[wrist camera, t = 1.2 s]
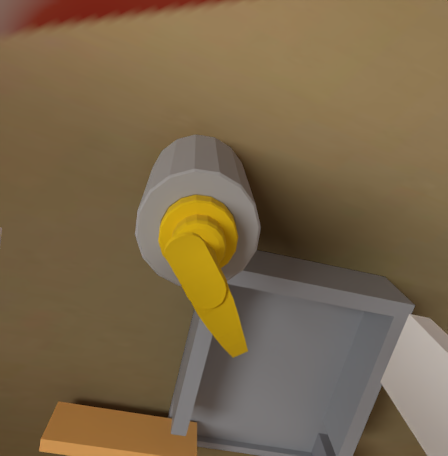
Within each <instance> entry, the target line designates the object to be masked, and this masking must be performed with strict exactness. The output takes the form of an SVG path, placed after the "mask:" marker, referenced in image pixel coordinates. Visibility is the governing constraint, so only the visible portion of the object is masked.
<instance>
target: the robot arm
mask: <svg viewBox="0 0 448 456" xmlns="http://www.w3.org/2000/svg"><path fill="white" fill-rule="evenodd" d="M1 232H2V228H0V242H1ZM380 382H381V384H382V386H383V387H384V389H385V390H386V392H387V393H388V395H389V396H390V398H391V400H392V401H393V403H394V404H395V406H396V407H397V409H398V411H399V412H400V414H401V415H402V417H403V418H404V420H405V422H406V423H407V425H408V426H409V428H410V429H411V431H412V432H413V434H414V436H415V437H416V439H417V440H418V442H419V443H420V445H421V447H422V448H423V450H424V451H425V453H426V454H427V456H448V335H447V334H446V333H445V332H444V331H443V330H442V329H441V328H440V327H439V326H438V325H437V324H436V323H435V322H433V321H432V320H431V319H430V318H426V317H422V316H417V315H412V314H409V316H408V318H407V320H406V323H405V325H404V327H403V330H402V332H401V334H400V337H399V339H398V341H397V344H396V346H395V349H394V351H393V353H392V356H391V358H390V360H389V363H388V365H387V367H386V370H385V372H384V374H383V377H382V379H381V381H380Z"/></svg>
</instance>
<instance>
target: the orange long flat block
mask: <svg viewBox="0 0 448 456" xmlns="http://www.w3.org/2000/svg"><path fill="white" fill-rule="evenodd" d="M171 424H172V419H171V418H164V417H158V416H151V415H145V414H138V413H131V412H125V411H118V410H112V409H105V408H98V407H92V406H85V405H79V404H72V403H65V402H59V401H58V403H57V405H56V408H55V410H54V412H53V414H52V416H51V418H50V420H49V423H48V425H47V427H46V429H45V431H44V433H43V435H42V438H41V441H40V448H39V451H40V452H48V453H55V454H62V455H70V456H197V422H191V421H190V423H189V426H188V430H187V434H186V436H181V435H174V434H171Z"/></svg>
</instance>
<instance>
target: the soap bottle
mask: <svg viewBox="0 0 448 456" xmlns="http://www.w3.org/2000/svg"><path fill="white" fill-rule="evenodd" d="M260 230H261V226H260V221H259V217H258V213H257V208H256V204H255V201H254V198H253V195H252V192H251V189H250V186H249V183H248V180H247V177H246V174H245V171H244V168H243V165H242V162H241V161H240V160H239V158H238V157H237V155H236V154H235V153H234V151H233V150H232V148H231V147H229V146H228V145H226V144H224V143H223V142H221V141H220V140H218V139H216V138H215V137H208V136H202V135H192V136H188V137H184V138H180V139H177V140H176V141H174V142H173V143H172V144H170V145H169V146H168V147H166V148H165V149H164V150H162V152H161V154H160V155H159V157H158V159H157V161H156V163H155V164H154V166H153V168H152V171H151V174H150V177H149V180H148V183H147V186H146V188H145V191H144V194H143V197H142V200H141V203H140V206H139V208H138V211H137V221H136V232H135V236H136V239H137V242H138V245H139V248H140V251H141V254H142V257H143V259H144V260H145V261H146V262H147V263H148V264H149V265H150V267H151V268H152V269H153V270H154V271H155V272H156V273H157V275H159V276H161V277H163V278H165V279H166V280H168V281H170V282H172V283H174V284H176V285H178V286H182V288H183V289H184V291H185V293H186V295H187V297H188V299H189V300H190V301H191V303H192V305H193V307H194V309H195V311H196V312H197V314H198V316H199V317H200V319H201V320H202V321H203V323H204V324H205V326H206V327H207V329H208V330H209V331H210V332H211V334H212V335H213V336H214V337H215V339H216V340H217V341H218V342H219V343H220V345H221V346H222V347H223V348H224V349H225V350H226V351H227V352H228V353H229V354H230V355H231V356H232V357H233V358H234V357H236V356H238V355H241V354H243V353H245V352H248V349H247V345H246V341H245V337H244V334H243V330H242V327H241V323H240V319H239V315H238V312H237V309H236V306H235V302H234V299H233V296H232V294H231V291H230V289H229V286H228V283H227V281H228V280H230V279H231V278H233V277H234V276H236V275H237V274H238V273H240V272H241V271H243V270H244V269H245V267H246V266H247V264H248V263H249V261H250V260H251V258H252V257H253V255H254V254H255V252H256V251H257V246H258V241H259V235H260Z"/></svg>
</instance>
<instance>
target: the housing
mask: <svg viewBox="0 0 448 456" xmlns="http://www.w3.org/2000/svg"><path fill="white" fill-rule="evenodd" d="M227 283H228V286H229V289H230V291H231V294H232V296H233V299H234V302H235V306H236V309H237V312H238V315H239V319H240V323H241V327H242V330H243V334H244V337H245V341H246V345H247V349H248V352H245V353H243V354H241V355H238V356H236V357H234V358H233V357H232V356H231V355H230V354H229V353H228V352H227V351H226V350H225V349H224V348H223V347H222V346H221V345H220V343H219V342H218V341H217V340H216V339H215V337H214V336H213V335H212V334H211V332H210V331H209V330H208V329H207V327H206V326H205V324H204V323H203V321H202V320H201V319H200V317H199V316H198V314H197V312H196V311H195V309H194V312H193V317H192V321H191V325H190V329H189V333H188V337H187V341H186V345H185V349H184V353H183V357H182V361H181V365H180V370H179V374H178V378H177V382H176V386H175V390H174V394H173V398H172V402H171V406H170V410H169V414H168V418H171V419H172V424H171V434H174V435H181V436H186V434H187V430H188V426H189V423H190V421H191V422H197V446H198V447H205V448H212V449H219V450H226V451H233V452H240V453H246V454H253V455H260V456H353V454H354V451H355V449H356V447H357V444H358V442H359V439H360V437H361V435H362V432H363V430H364V427H365V425H366V423H367V420H368V418H369V415H370V413H371V410H372V408H373V406H374V403H375V401H376V398H377V396H378V394H379V391H380V389H381V386H382V384H381V382H380V381H381V379H382V377H383V374H384V372H385V370H386V367H387V365H388V363H389V360H390V358H391V356H392V353H393V351H394V349H395V346H396V344H397V341H398V339H399V337H400V334H401V332H402V330H403V327H404V325H405V323H406V320H407V318H408V316H409V314H412V312H413V309H414V307H415V305H414V304H413V303H412V302H411V301H410V300H409V299H408V298H407V297H406V296H405V295H404V294H403V293H402V292H401V291H399V290H398V289H397V288H396V287H395V286H394V285H393V284H392V283H391V282H390V281H389V280H388V279H387V278H386V277H383V276H379V275H374V274H369V273H364V272H359V271H355V270H350V269H345V268H340V267H336V266H331V265H326V264H321V263H316V262H312V261H307V260H302V259H297V258H293V257H288V256H283V255H278V254H274V253H269V252H264V251H259V250H257V251H256V252H255V254H254V255H253V257H252V258H251V260H250V261H249V263H248V264H247V266H246V267H245V269H244V270H243V271H241V272H240V273H238V274H237V275H236V276H234V277H233V278H231V279H230V280H228V281H227Z"/></svg>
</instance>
